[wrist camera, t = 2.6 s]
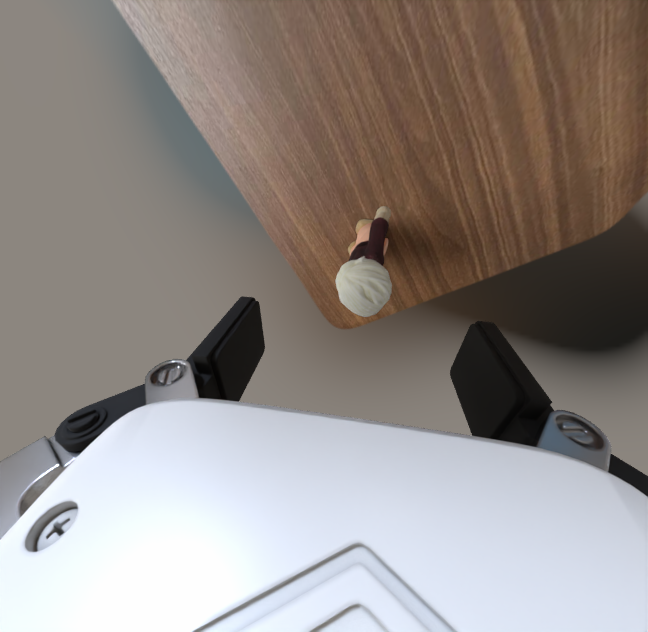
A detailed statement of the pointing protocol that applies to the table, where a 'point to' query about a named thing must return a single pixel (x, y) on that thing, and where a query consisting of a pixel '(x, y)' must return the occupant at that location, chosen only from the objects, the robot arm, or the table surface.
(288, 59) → the table surface
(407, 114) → the table surface
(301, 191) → the table surface
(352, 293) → the grandmother figurine
